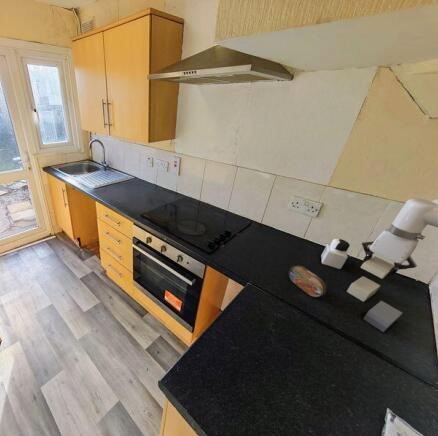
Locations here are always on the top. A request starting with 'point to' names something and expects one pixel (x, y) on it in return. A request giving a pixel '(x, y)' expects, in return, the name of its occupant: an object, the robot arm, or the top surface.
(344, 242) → the container
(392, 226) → the robot arm
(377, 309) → the grey block
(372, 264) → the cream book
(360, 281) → the beige block
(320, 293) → the tin
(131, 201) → the top surface
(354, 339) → the top surface
